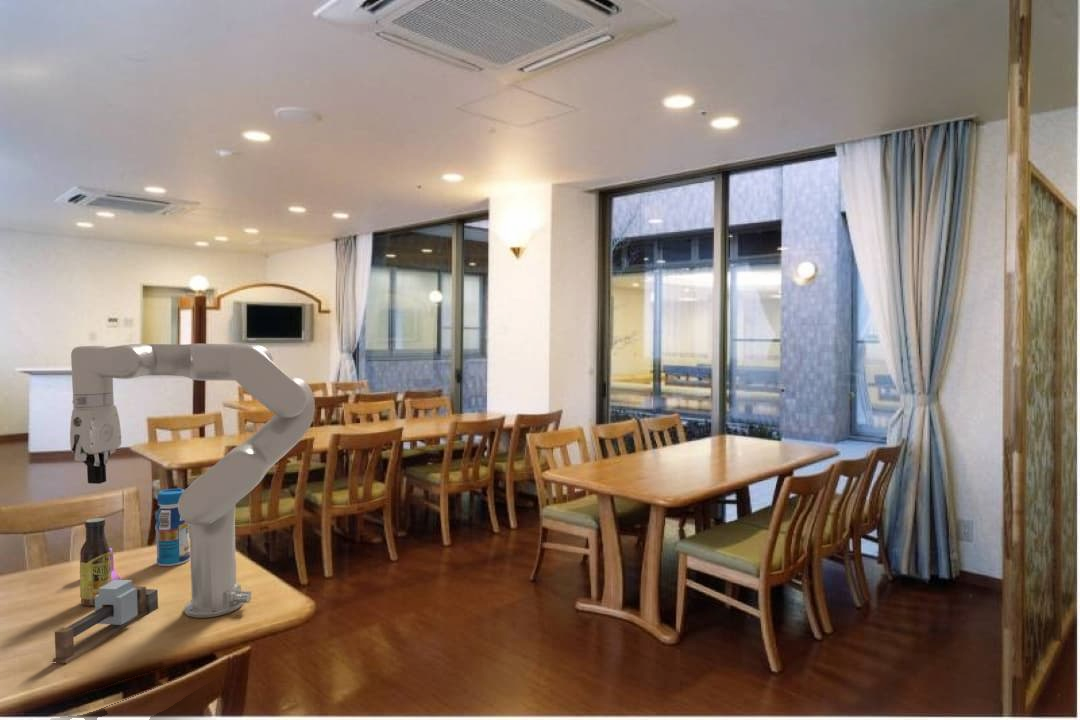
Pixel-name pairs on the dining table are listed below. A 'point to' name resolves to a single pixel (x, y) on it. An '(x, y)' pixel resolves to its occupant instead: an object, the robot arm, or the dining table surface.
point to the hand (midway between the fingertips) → (97, 482)
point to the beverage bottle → (171, 530)
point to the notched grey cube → (118, 601)
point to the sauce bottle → (94, 561)
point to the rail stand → (65, 636)
